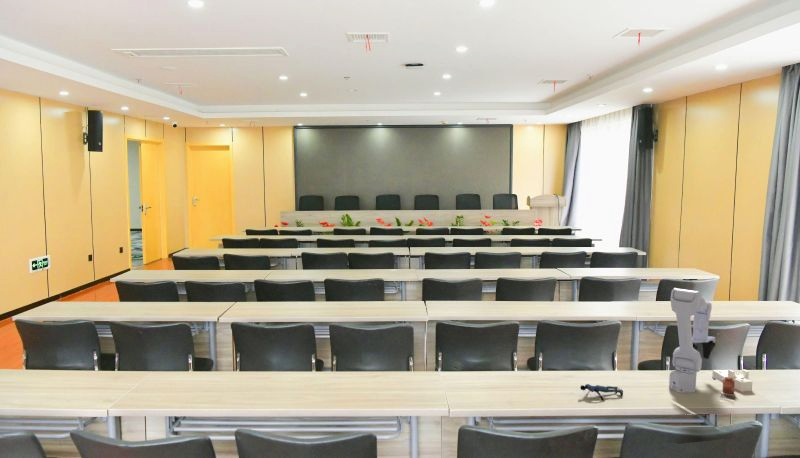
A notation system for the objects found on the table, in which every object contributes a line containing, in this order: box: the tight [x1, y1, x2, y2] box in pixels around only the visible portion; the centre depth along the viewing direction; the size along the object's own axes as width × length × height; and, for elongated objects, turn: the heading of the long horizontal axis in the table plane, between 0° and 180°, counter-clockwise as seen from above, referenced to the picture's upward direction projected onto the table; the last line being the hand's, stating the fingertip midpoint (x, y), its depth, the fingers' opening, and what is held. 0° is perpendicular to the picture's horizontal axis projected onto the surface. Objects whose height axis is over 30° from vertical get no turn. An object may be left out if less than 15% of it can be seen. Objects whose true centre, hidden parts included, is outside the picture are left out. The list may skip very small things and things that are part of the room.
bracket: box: [711, 369, 750, 382], centre depth 237 cm, size 13×7×8 cm, turn 3°
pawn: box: [722, 377, 735, 394], centre depth 224 cm, size 4×4×6 cm
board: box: [718, 388, 736, 405], centre depth 220 cm, size 15×6×1 cm, turn 147°
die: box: [733, 377, 753, 393], centre depth 228 cm, size 5×5×5 cm
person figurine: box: [580, 383, 624, 402], centre depth 223 cm, size 11×4×18 cm
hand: (698, 359), depth 239 cm, fingers open, 7 cm apart
